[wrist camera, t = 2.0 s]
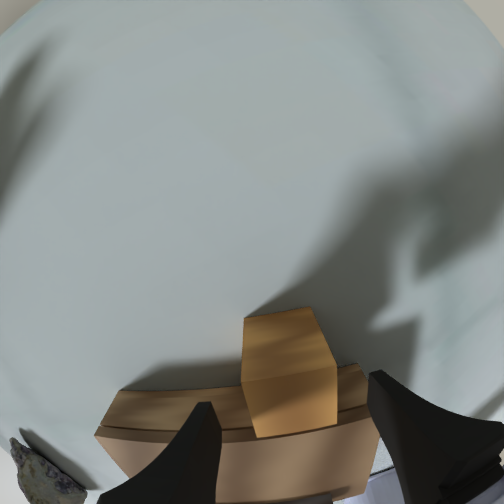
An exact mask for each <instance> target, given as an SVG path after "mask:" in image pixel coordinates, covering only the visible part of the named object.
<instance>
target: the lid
mask: <svg viewBox="0 0 504 504" xmlns="http://www.w3.org/2000/svg"><path fill="white" fill-rule="evenodd" d="M176 434H177V432H156V431H139V430H127V429H118V428H109V427H102V426H99V427H98V429H97V431H96V432H95V434H94V437H95V438H96V439H97V440H98V442H99V443H100V444H101V446H102V447H103V448H104V449H105V451H106V452H107V453H108V454H109V456H110V457H111V458H112V459H113V460H114V461H115V463H116V464H117V465H118V466H119V467H120V468H121V469H122V471H123V472H124V473H125V474H126V475H127V476H128V477H129V478H132V477H133V476H135V475H136V474H138V473H139V472H140V471H142V470H143V469H144V468H145V467H146V466H147V465H149V464H150V463H151V462H152V461H153V460H154V459H155V458H156V457H157V456H158V455H159V454H160V453H161V452H162V451H163V450H164V449H165V448H166V446H167V445H168V444H169V443H170V441H171V440H172V439H173V438H174V437H175V435H176ZM379 437H380V434H379V432H378V430H377V428H376V426H375V424H374V422H373V420H372V417H371V415H370V412H369V409H368V406H364V407H360V408H357V409H353V410H349V411H345V412H342V413H338V414H337V424H334V425H329V426H325V427H320V428H316V429H311V430H306V431H300V432H295V433H289V434H282V435H275V436H268V437H260V438H257V436H256V433H255V429H254V428H252V429H242V430H230V431H222V449H221V456H220V463H219V470H218V477H217V483H216V504H333V502H334V501H338V500H342V499H346V498H350V497H353V496H357V495H360V494H364V492H365V489H366V486H367V483H368V479H369V476H370V473H371V469H372V466H373V462H374V458H375V454H376V450H377V446H378V442H379Z"/></svg>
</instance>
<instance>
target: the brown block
mask: <svg viewBox="0 0 504 504" xmlns="http://www.w3.org/2000/svg"><path fill="white" fill-rule="evenodd" d="M241 385H242V388H243V392H244V395H245V399H246V402H247V406H248V409H249V413H250V416H251V419H252V423H253V426H254V429H255V433H256V436H257V438H260V437H268V436H275V435H282V434H289V433H295V432H300V431H306V430H311V429H316V428H320V427H325V426H329V425H334V424H337V364H336V362H335V360H334V357H333V355H332V353H331V351H330V349H329V346H328V344H327V342H326V340H325V338H324V335H323V333H322V331H321V329H320V327H319V324H318V322H317V320H316V318H315V316H314V314H313V311H312V309H311V307H305V308H300V309H294V310H289V311H283V312H278V313H272V314H266V315H260V316H254V317H248V318H244V327H243V347H242V367H241Z"/></svg>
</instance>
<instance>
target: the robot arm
mask: <svg viewBox="0 0 504 504" xmlns="http://www.w3.org/2000/svg"><path fill="white" fill-rule="evenodd" d="M366 403H367V406H368V409H369V412H370V415H371V417H372V420H373V422H374V424H375V426H376V428H377V430H378V432H379V434H380V436H381V438H382V440H383V442H384V444H385V446H386V448H387V450H388V452H389V454H390V456H391V458H392V461H393V464H394V467H395V468H393V469H390V470H388V471H385V472H382V473H379V474H376V475H373V476H370V477H369V479H368V483H367V486H366V489H365V492H364V494H360V495H357V496H353V497H350V498H346V499H344V503H343V504H504V465H503V466H501V465H500V462H501V458H500V456H499V454H500V453H501V451H502V450H503V449H504V424H503V423H502V422H498V421H487V420H480V419H475V418H470V417H466V416H462V415H459V414H456V413H453V412H450V411H448V410H445V409H443V408H441V407H438V406H436V405H434V404H432V403H430V402H428V401H426V400H425V399H423V398H421V397H420V396H418V395H416V394H415V393H413V392H412V391H410V390H409V389H407V388H406V387H404V386H403V385H401V384H400V383H399V382H397V381H396V380H395V379H393V378H392V377H391V376H389V375H388V374H387V373H385V372H384V371H383V370H378V371H374V372H371V373H369V380H368V392H367V402H366ZM221 449H222V428H221V425H220V423H219V420H218V418H217V415H216V413H215V410H214V408H213V405H212V403H211V401H206V402H198V403H197V404H196V405H195V407H194V409H193V410H192V412H191V413H190V415H189V417H188V418H187V420H186V421H185V423H184V424H183V425H182V427H181V428H180V430H179V431H178V432H177V434H176V435H175V437H174V438H173V439H172V440H171V441H170V443H169V444H168V445H167V446H166V448H165V449H164V450H163V451H162V452H161V453H160V454H159V455H158V456H157V457H156V458H155V459H154V460H153V461H152V462H151V463H150V464H149V465H147V466H146V467H145V468H144V469H143V470H142V471H140V472H139V473H138V474H136V475H135V476H133V477H132V478H130V479H129V480H127V481H126V482H124V483H123V484H121V485H119V486H117V487H115V488H113V489H111V490H109V491H107V492H105V493H103V494H101V495H100V497H99V499H98V501H97V504H216V483H217V477H218V470H219V463H220V456H221Z"/></svg>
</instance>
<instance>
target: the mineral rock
mask: <svg viewBox="0 0 504 504" xmlns="http://www.w3.org/2000/svg"><path fill="white" fill-rule="evenodd" d="M10 443H11V447H12V449H11V450H10V452H11V455H12V458H13V460H14V462H15V463H16V466H17V469H18V474H17V478H18V484H19V487H20V489H21V490H22V492H23V493H24V495H25V497H26V498H27V500H28V502H30V504H83V503H84V501H85V499H86V498H87V491H86V490H85V489H84V488H82V487H81V486H79V485H78V484H77V483H75V482H74V481H72V479H71V478H70V477H68V476H67V475H65V474H63V473H61V472H60V470H59V469H58V468H57V467H55V466H54V465H52V464H51V463H50V462H49V461H48V460H46V459H45V458H43V457H42V456H40V455H37V454H36V453H35V452H34V451H33V450H32V449H30V448H27V447H26V446H24V445H22V444H21V443H19V442H18V440H16V439H15V438H13V437H12V438H10Z"/></svg>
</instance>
